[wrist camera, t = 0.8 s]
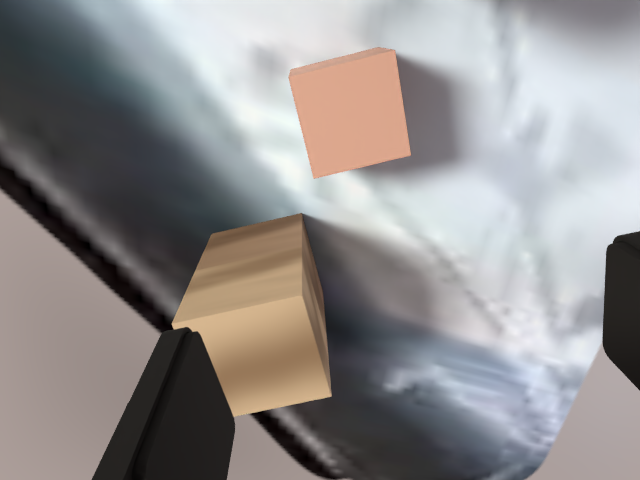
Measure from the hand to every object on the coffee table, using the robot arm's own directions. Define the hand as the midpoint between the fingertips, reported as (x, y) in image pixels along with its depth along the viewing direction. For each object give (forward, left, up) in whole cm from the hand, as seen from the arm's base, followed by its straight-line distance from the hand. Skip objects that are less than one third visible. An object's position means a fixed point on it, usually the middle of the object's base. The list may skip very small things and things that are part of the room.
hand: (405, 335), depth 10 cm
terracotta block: (-3, +1, -19) cm, 19 cm away
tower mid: (+6, -6, -14) cm, 16 cm away
